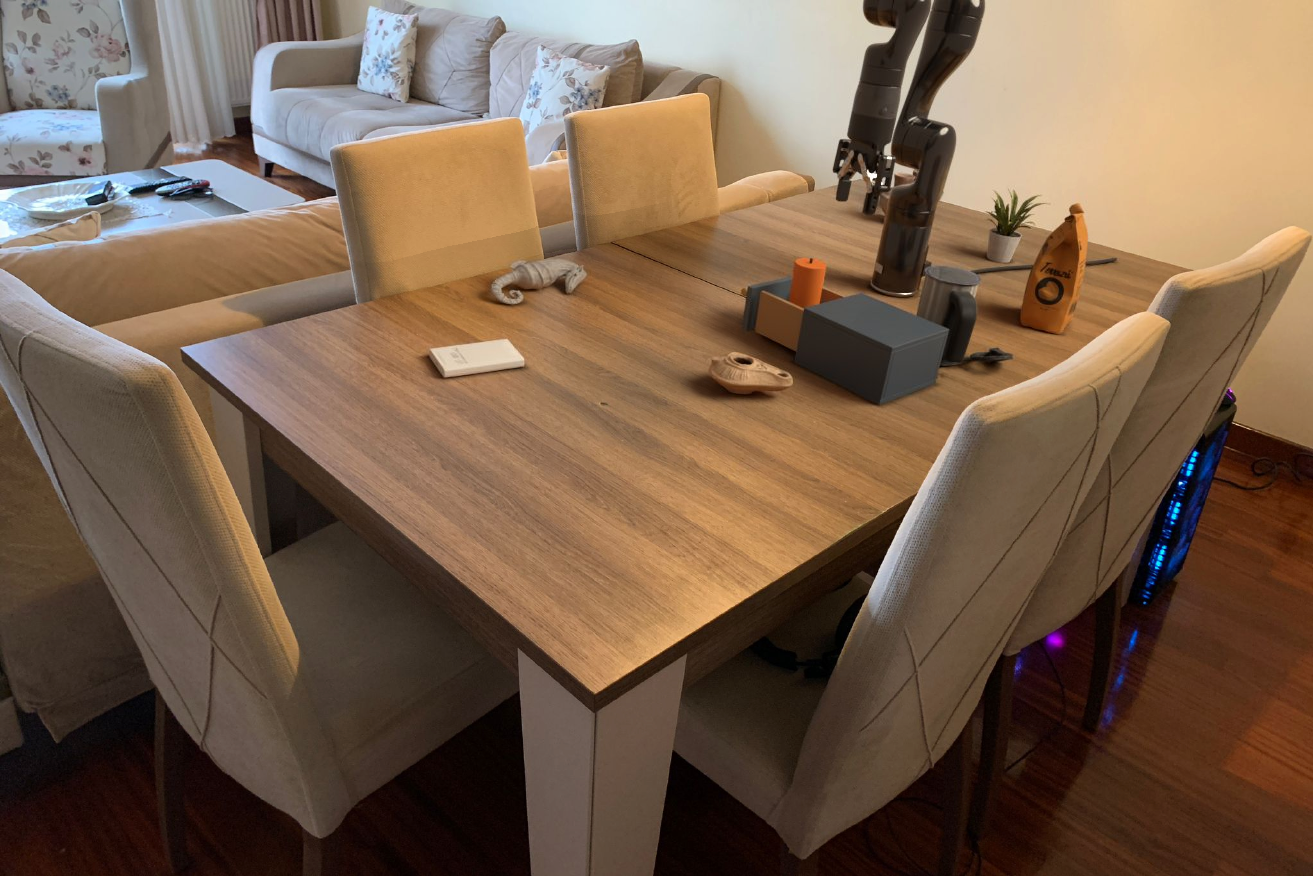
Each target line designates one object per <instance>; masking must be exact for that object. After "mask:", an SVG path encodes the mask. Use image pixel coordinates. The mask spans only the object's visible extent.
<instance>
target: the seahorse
mask: <svg viewBox="0 0 1313 876" xmlns="http://www.w3.org/2000/svg"><path fill="white" fill-rule="evenodd" d="M509 268H510V269H512V270H513V271H510V272H508V273H507V274H502V275H501V276H499V277H497V278H496V279H495V280H493V282H491V286H490V290H489V292H490V294H491V296H493V298H494V300H497V301H498V302H501V303H503V304H506V305H512V306H513V305H518V304H520V303H521V302H523V300H524V294H522V292H521V291H520V290H514V289H511V290H510V291H509V292H508V296H509V297H507V295H505V293H503V291H502V289H503V288H505V287H506V286H509V285H516V286H518V287H519V288H521V289H523V290H531V289H532V290H533V289H534V290H537V291H539V290H542V289H544V288H547V287H550V286H551V285H552V284H553V283H555V282H556V280H557V279H560V278H563V277H564V286H565V293H566V294H572V293H573V292H574V290H575V288H576V287H577V286H578V285H580V284H581V283H582V282H583V281H584V279H585V278H587V276H588V274H587V272H586V271H585V269H584V264H581V265H578V264H577V263H576V262H573V261H572V260H567V259H563V258H554V257H553V258H547V259H541V260H532V261H526V260H517V261H514V262H512V263H511V264H509ZM515 297H517V298H515Z"/></svg>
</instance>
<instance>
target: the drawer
mask: <svg viewBox="0 0 1313 876" xmlns="http://www.w3.org/2000/svg"><path fill="white" fill-rule="evenodd" d="M792 277H793V275H790V276H786V277H783V278H782V277H781V278H778V279H777V278H776V279H773V280H769V281H765V282H759V283H755V284H750V285H747V286H746V287H743V288H741V290H740V295H741V296H742V297H745V303H744V308H743V315H742V324H741V329H742V330H744V331H746V332H748V331H751V330H754V332H755V333H758V334H760V335H762V336H764V337H766V338H768V339H770V340H772V341H774V342H776V343H778V344H779V345H781V346H784V347H786V348H788V349H790V350H792V351H794V352H796V351H797V345H798V339H799V334H800V328H801V322H802V317H803V313H804V312H803V311H804V308H801V307H799V306H797V305H795V304H793V303H790V302H788V301H789V295H790V289H791V283H792ZM844 297H848V295H844V294H842V293H840V292H838V291H835V290H833V289H831V288H828V287H825V286H823V287H822V292H821V298H820V303H819V304H821V303H825V302H829V301H832V300H836V299H840V298H844Z"/></svg>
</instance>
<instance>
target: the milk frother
mask: <svg viewBox="0 0 1313 876" xmlns="http://www.w3.org/2000/svg"><path fill="white" fill-rule="evenodd" d="M971 271H972V270H968V269H964V268H961V267H960V268H959V267H957V266H956V267H955V266H949V265H931V266H930V267H927V268H926V269H925V273H926V275H925V276H924V279H923V283H922V288H921V293H920V296H919V301H918V305H917V311H916V314H915V315H916V316H919V317H921V318H924V319H926V320H928V321H931V322H933V323H936V324H938V325H940V326H943V327H945V328H948V329H949V332H948V336H947V340H946V344H945V348H944V352H943V355H942V359H941V363H940V366H941V367H952V366H956V365H958V364H960V363H962V362H989V363H990V364H997V363H1000V362H1004V361H1011V360H1013V359H1014V354H1013V353H1010V352H1005V351H1003V350H1001V349H1000V347H990V348H989V349H988V350H987V351H980V352H979V351H978V352H973V353H971V354H969V356H966V354H967V350H968V347H969V344H970V341H971V338H972V335H973V332H974V328H975V326H976V322H977V317H978V304H977V301H976V295H977V292H978V287H979V284H980V283H982V280H983V279H982V278H981V276H980V275H979V274H978V273H976V274H975V273H973V272H971Z"/></svg>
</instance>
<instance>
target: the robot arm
mask: <svg viewBox="0 0 1313 876" xmlns="http://www.w3.org/2000/svg"><path fill="white" fill-rule="evenodd" d="M985 12H986V0H933V3H932V0H863V1H862V13H863V17H864V18H865V19H866V21H867V22H868V23H870V24H871V25H873V26H877V27H882V28H888V29H894V32H893V34H892V36H891V37H890V38H889V40H888V41H887V42H876V43H872V44H869V45H867V47H866V49H865V52H864V55H863V60H862V65H861V70H860V74H859V81H858V84H857V87H856V90H855V93H854V98H853V103H852V107H851V113H850V117H849V118H850V119H849V121H848V122H849V123H848V127H847V132H846V136H847V138H840V139H839V140H838V143H837V148H836V152H835V157H834V162H833V164H832V173H834V174H836V176H837V179H838V182H837V188H836V192H835V194H836V195H835V201H836V202H842V203H843V202H845V203H846V202H848V200H849V197H850V191H851V187H852V182H853V181H852V180H851V179H852V178H853V177H854V176H855V175H856V173H858V174H860V175H861V177H862V180H863V181H864V182H865V186H866V192H865V196H864V201H863V208H862V211H861V213H862V214H863V215H865V216H873V215H875V213H876V212H877V209H878V204H879V201H880V194H881V193H883V192H889V191H890V188H892V181H893V177H894V172H895V171H894V170H895V166H896V164H897V165H899V166H902V167H904V168H908V169H912V170H914V169H915V170H919V171H918V174H917V177H916V180H915V182H914V183H912V184H907V185H899V186H895V187H894V186H893V187H894V188H892V190H891V192H890V196H889V201H888V205H887V210H886V215H885V214H884V218H885V220H884V219H883V225H882V230H881V235H880V238H879V244H878V249H877V253H876V259H875V263H874V268H873V272H872V278H871V280H870V284H869V285H870V287H871V289H872V290H874V291H876V292H877V293H880V294H883V295H885V296H889V297H897V298H898V297H899V298H909V297H914V296H915V295H917V294H918V291H919V290H920V286H921V282H922V278H925V275H926V273H925V269H926V268H927V267H930V266H932V264H933V263H932V261H929V260H927V258H928V253H929V249H930V245H929V241H930V237H931V234H932V233H931V232H932V228H933V225H934V219H935V215H936V211H937V207H938V205H939V202H940V201H939V199H940V197H941V195H942V193H943V191H944V190H945V186H946V183H947V180H948V177H949V174H950V173H949V172H950V169H951V166H952V163H953V159H954V156H955V153H956V149H957V141H958V140H957V132H956V129H955V127H954V126H953V125H951V124H949V123H947V122H942V121H939V120H934V119H930V118H929V115H930V111H931V108H932V105H933V103H934V101H935V99H936V96H937V95H938V93H939V91H940V90H941V88H942V86H943V85H944V84H945V83H946V81H948V79H949V78H950V77H951V76H952V75H953V74H954V73H955V72H956V71H957V70H958V68H960V67H961V65H963V63H964V62H965V61H966V60H967V59H968V57H969V56H970V54H972V52H973V50H974V48H975V46H976V44H977V40H978V37H979V33H980V30H981V26H982V23H983V19H984V15H985ZM925 24H926V26H925ZM924 27H925V31H924V34H923V39H922V43H921V48H920V50H919V54H918V58H917V62H916V65H915V69H914V73H913V75H912V79H911V83H910V85H909V88H908V91H907V94H906V97H905V99H904V102H903V105H902V108H901V111H900V113H899V116H897V115H898V112H899V107H900V103H901V96H902V95H901V93H902V86H903V82H904V77H905V73H906V68H907V63H908V60H909V58H910V56H911V53H912V51H913V49H914V47H915V45H916V42H917V40H918V38H919V36H920V34H921V32H922V30H923V28H924ZM897 117H898V119H897ZM889 144H890V155H888V154H887V155H885V148H886V146H887V145H889ZM842 161H843V162H842ZM841 162H842V164H841ZM884 178H885V179H884ZM883 179H884V184H883ZM873 182H874V183H873ZM943 194H944V193H943ZM940 200H941V199H940ZM938 201H939V202H938ZM1116 261H1118V258H1117V257H1112V258H1106V259H1105V258H1104V259H1099V260H1089V261H1086V265H1085V266H1090V265H1099V264H1106V263H1111V262H1116ZM1033 265H1034V264H1023V265H1006V266H997V267H996V266H995V267H987V268H986V267H985V268H979V269H974V270H970V271H971V272H973V273H975V274H981V273H988V272H999V271H1011V270H1025V269H1032V267H1033Z"/></svg>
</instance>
